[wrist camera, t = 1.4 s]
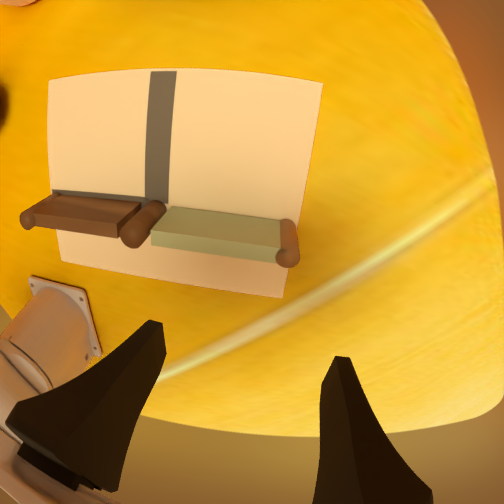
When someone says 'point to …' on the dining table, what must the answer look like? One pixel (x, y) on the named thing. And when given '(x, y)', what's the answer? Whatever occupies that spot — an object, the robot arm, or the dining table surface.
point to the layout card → (183, 160)
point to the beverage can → (16, 2)
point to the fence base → (96, 217)
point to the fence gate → (228, 235)
